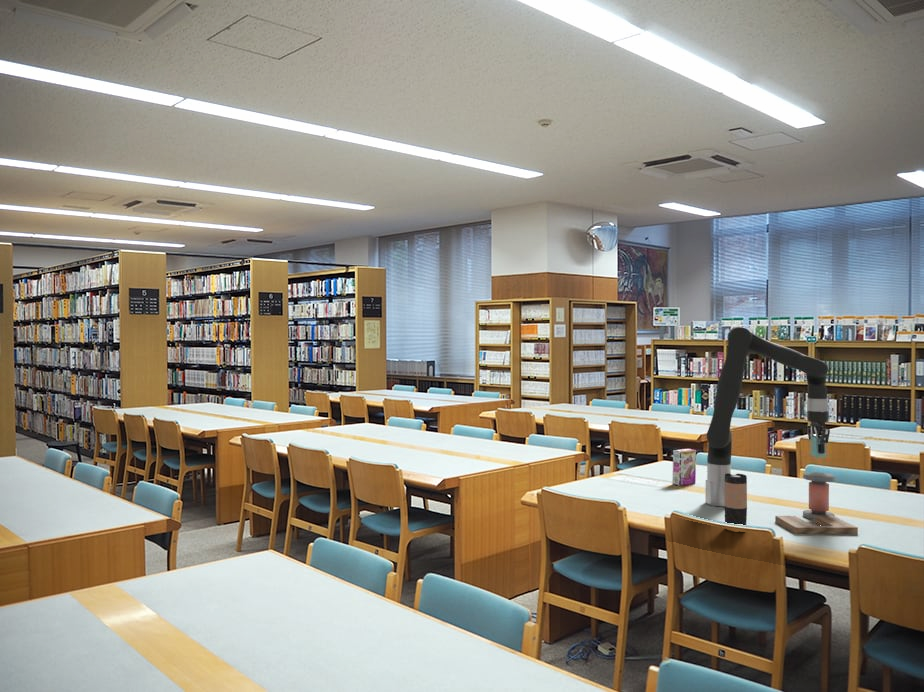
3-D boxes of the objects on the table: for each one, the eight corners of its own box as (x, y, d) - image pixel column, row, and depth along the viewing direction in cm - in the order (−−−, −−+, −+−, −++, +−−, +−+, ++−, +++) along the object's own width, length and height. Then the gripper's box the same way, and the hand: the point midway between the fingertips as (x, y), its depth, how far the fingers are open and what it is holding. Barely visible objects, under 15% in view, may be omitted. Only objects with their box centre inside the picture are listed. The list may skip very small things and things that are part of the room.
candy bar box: (680, 486, 321) (680, 451, 320) (672, 484, 325) (672, 450, 325) (696, 483, 327) (696, 449, 326) (688, 481, 331) (688, 448, 331)
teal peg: (816, 457, 272) (815, 437, 272) (811, 455, 276) (810, 436, 276) (826, 457, 272) (825, 437, 272) (820, 455, 276) (820, 435, 276)
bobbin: (811, 521, 260) (811, 478, 260) (797, 513, 271) (797, 472, 271) (840, 521, 260) (840, 478, 260) (825, 513, 271) (825, 472, 271)
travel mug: (739, 534, 243) (739, 478, 243) (720, 529, 250) (720, 474, 249) (751, 530, 248) (751, 475, 248) (732, 525, 254) (732, 472, 254)
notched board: (795, 534, 243) (795, 527, 243) (775, 522, 259) (775, 515, 259) (857, 534, 243) (857, 527, 243) (833, 522, 259) (833, 515, 259)
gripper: (799, 408, 281) (800, 449, 281) (817, 411, 266) (818, 455, 266) (817, 407, 281) (818, 449, 281) (836, 411, 266) (837, 455, 266)
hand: (818, 452), depth 274 cm, fingers closed on teal peg, 4 cm apart
